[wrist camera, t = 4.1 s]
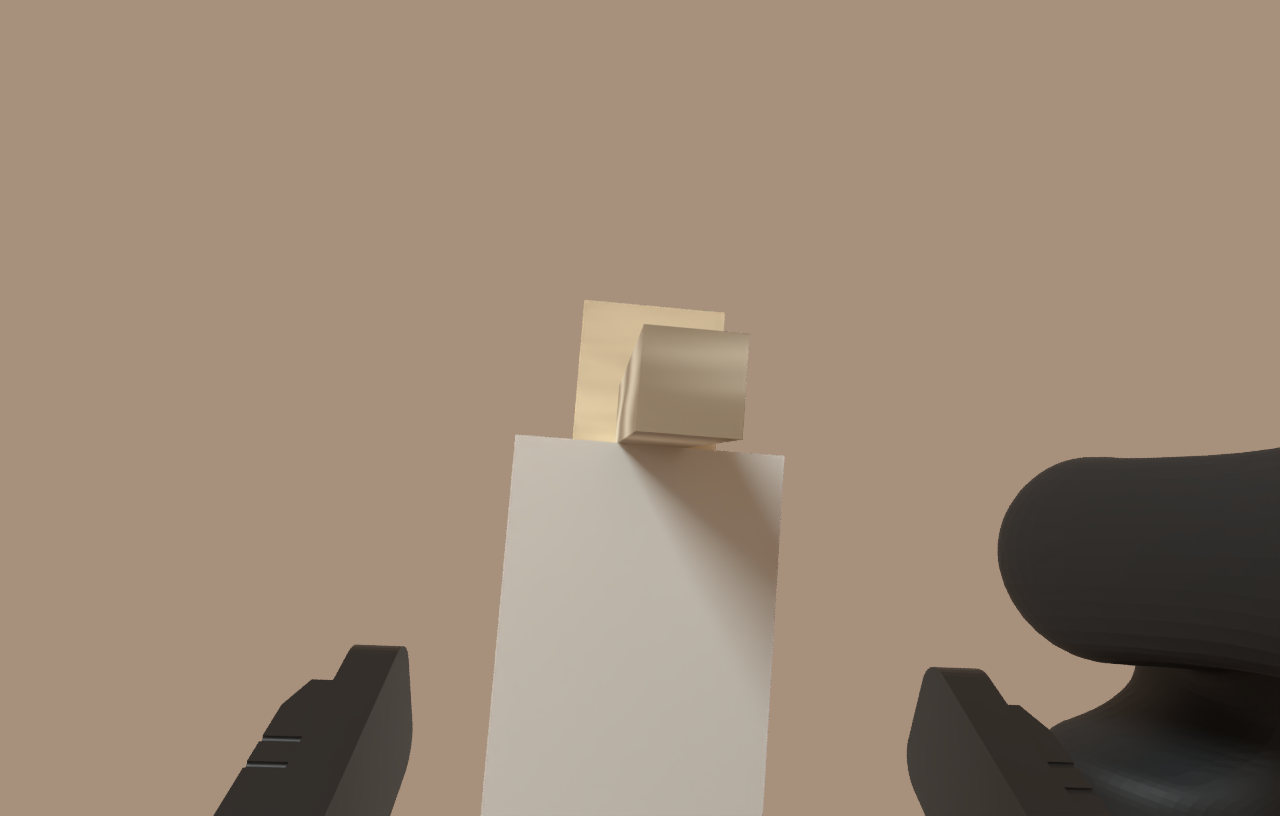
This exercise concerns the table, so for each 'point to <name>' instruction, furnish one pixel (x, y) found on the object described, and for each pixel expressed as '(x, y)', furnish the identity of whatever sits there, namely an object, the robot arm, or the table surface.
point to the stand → (634, 631)
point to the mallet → (659, 377)
